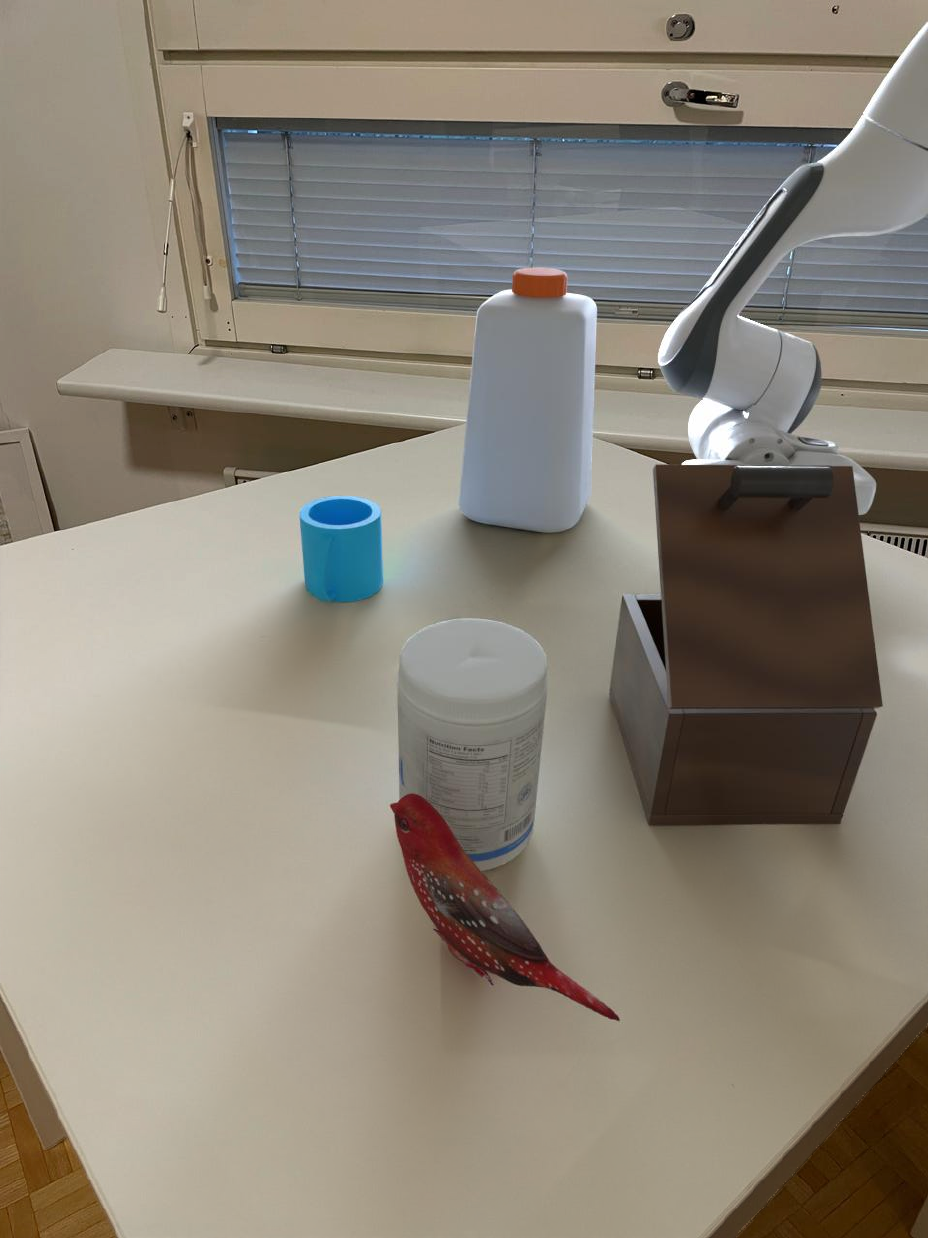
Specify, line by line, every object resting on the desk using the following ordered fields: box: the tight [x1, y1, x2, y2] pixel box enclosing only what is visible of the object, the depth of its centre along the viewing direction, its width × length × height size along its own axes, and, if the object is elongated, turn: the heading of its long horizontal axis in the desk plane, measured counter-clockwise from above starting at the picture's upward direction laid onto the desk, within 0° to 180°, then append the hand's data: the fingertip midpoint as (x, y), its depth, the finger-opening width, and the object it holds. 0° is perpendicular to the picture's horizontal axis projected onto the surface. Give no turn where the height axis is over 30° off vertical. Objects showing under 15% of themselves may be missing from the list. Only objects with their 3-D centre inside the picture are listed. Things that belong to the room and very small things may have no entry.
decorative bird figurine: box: [389, 793, 621, 1022], centre depth 48 cm, size 3×18×10 cm, turn 43°
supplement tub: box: [396, 617, 549, 872], centre depth 58 cm, size 10×10×15 cm
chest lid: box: [652, 463, 884, 709], centre depth 57 cm, size 17×14×6 cm
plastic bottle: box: [458, 267, 598, 534], centre depth 102 cm, size 15×15×28 cm
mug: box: [298, 495, 384, 603], centre depth 88 cm, size 12×8×8 cm
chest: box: [608, 593, 878, 826], centre depth 67 cm, size 16×14×10 cm
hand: (799, 519), depth 87 cm, fingers closed on lemon, 5 cm apart
